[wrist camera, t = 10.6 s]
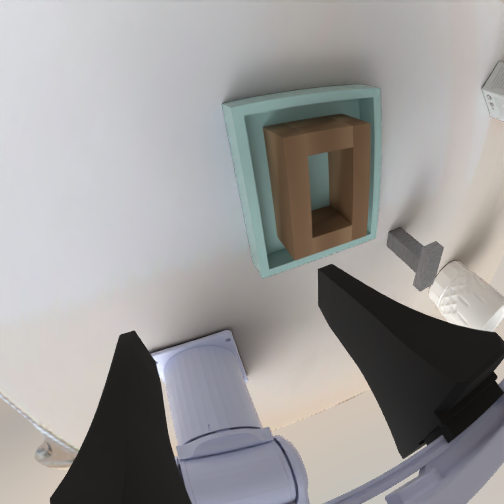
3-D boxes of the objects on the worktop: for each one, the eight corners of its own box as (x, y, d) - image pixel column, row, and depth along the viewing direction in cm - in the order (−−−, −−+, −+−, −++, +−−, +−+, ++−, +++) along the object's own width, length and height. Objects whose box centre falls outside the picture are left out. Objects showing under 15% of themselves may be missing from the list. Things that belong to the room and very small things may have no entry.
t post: (397, 251, 28) (433, 284, 24) (384, 256, 28) (419, 291, 24) (403, 215, 26) (443, 247, 21) (389, 220, 25) (430, 254, 21)
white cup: (468, 258, 36) (514, 301, 28) (441, 301, 39) (482, 345, 31) (446, 253, 32) (500, 303, 24) (416, 303, 36) (461, 354, 28)
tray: (361, 225, 24) (375, 237, 23) (252, 261, 23) (262, 278, 21) (360, 83, 17) (380, 87, 16) (221, 103, 16) (230, 107, 14)
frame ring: (342, 113, 18) (370, 123, 15) (344, 215, 23) (366, 235, 20) (262, 126, 17) (282, 138, 15) (277, 237, 22) (294, 260, 19)
